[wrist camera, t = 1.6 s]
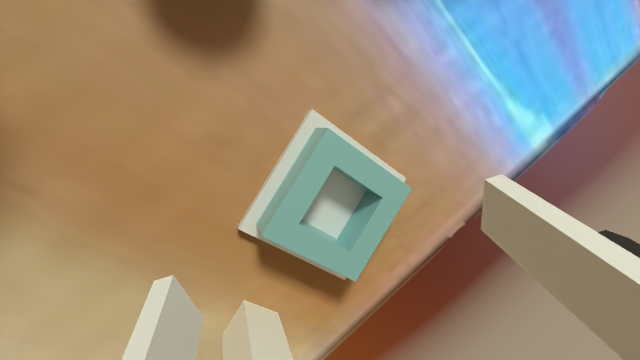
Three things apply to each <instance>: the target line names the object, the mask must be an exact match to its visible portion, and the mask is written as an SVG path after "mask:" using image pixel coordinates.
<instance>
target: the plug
mask: <svg viewBox="0 0 640 360" xmlns="http://www.w3.org/2000/svg"><path fill="white" fill-rule="evenodd" d="M222 351H223V360H293V358H292V355H291V352H290V349H289V346H288V343H287V339H286V336H285V333H284V330H283V327H282V324H281V321H280V318H279V314H278V313H277V312H274V311H272V310H269V309H266V308H264V307H261V306H258V305H256V304H253V303H250V302H248V301H245V300H243V302H242V304H241V305H240V307H239V309H238V310H237V312H236V313H235V315H234V317H233V318H232V320H231V322H230V323H229V325H228V327H227V328H226V330H225V331H224V333H223V335H222Z"/></svg>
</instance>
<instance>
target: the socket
mask: <svg viewBox="0 0 640 360" xmlns="http://www.w3.org/2000/svg"><path fill="white" fill-rule="evenodd" d="M405 180H406V178H405V177H404V176H402V175H401V174H400V173H398V172H397V171H396V170H394V169H393V168H391V167H390V166H389V165H387V164H386V163H385V162H383V161H382V160H381V159H379V158H378V157H376V156H375V155H374V154H372V153H371V152H370V151H368V150H367V149H366V148H364V147H363V146H362V145H360V144H359V143H357V142H356V141H355V140H353V139H352V138H351V137H349V136H348V135H347V134H345V133H344V132H342V131H341V130H340V129H338V128H337V127H336V126H334V125H333V124H332V123H330V122H329V121H328V120H326V119H325V118H323V117H322V116H321V115H319V114H318V113H317V112H315V111H314V110H313V109H311V110H309V111H308V113H307V114H306V116H305V117H304V119H303V121H302V122H301V124H300V126H299V127H298V129H297V130H296V132H295V134H294V135H293V137H292V138H291V140H290V142H289V143H288V145H287V147H286V148H285V150H284V151H283V153H282V155H281V156H280V158H279V159H278V161H277V163H276V164H275V166H274V168H273V169H272V171H271V172H270V174H269V176H268V177H267V179H266V180H265V182H264V184H263V185H262V187H261V189H260V190H259V192H258V193H257V195H256V197H255V198H254V200H253V201H252V203H251V205H250V206H249V208H248V210H247V211H246V213H245V214H244V216H243V218H242V219H241V221H240V222H239V224H238V229H239V230H241V231H243V232H245V233H247V234H249V235H252V236H254V237H256V238H258V239H260V240H262V241H264V242H266V243H268V244H270V245H272V246H275V247H277V248H279V249H281V250H283V251H285V252H287V253H289V254H291V255H293V256H295V257H297V258H300V259H302V260H304V261H306V262H308V263H310V264H312V265H314V266H316V267H318V268H320V269H322V270H325V271H327V272H329V273H331V274H333V275H335V276H337V277H339V278H341V279H343V280H345V279H346V277H347V278H349V279H351V280H353V281H355V282H356V280H357V279H358V277H359V275H360V274H361V272H362V270H363V269H364V267H365V265H366V264H367V262H368V261H369V259H370V257H371V256H372V254H373V252H374V251H375V249H376V247H377V246H378V244H379V242H380V241H381V239H382V237H383V236H384V234H385V232H386V231H387V229H388V227H389V226H390V224H391V222H392V221H393V219H394V218H395V216H396V214H397V213H398V211H399V209H400V208H401V206H402V204H403V203H404V201H405V199H406V198H407V196H408V194H409V193H410V191H411V189H412V188H410V187H409V186H408V185H406V184H405V183H404V182H405Z"/></svg>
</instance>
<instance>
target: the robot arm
mask: <svg viewBox="0 0 640 360" xmlns="http://www.w3.org/2000/svg"><path fill="white" fill-rule="evenodd" d="M481 230H482V231H483V232H484V233H485V234H486V235H487V236H489V237H490V238H491V239H492V240H493V241H494V242H495V243H496V244H497V245H498V246H499V247H501V248H502V249H503V250H504V251H505V252H506V253H507V254H508V255H509V256H510V257H512V258H513V259H514V260H515V261H516V262H517V263H518V264H519V265H520V266H521V267H523V268H524V269H525V270H526V271H527V272H528V273H529V274H530V275H531V276H532V277H533V278H534V279H536V280H537V281H538V282H539V283H540V284H541V285H542V286H543V287H544V288H545V289H547V290H548V291H549V292H550V293H551V294H552V295H553V296H554V297H555V298H556V299H558V300H559V301H560V302H561V303H562V304H563V305H564V306H565V307H566V308H567V309H569V311H571V312H572V313H573V314H574V315H575V316H576V317H577V318H578V319H579V320H580V321H582V322H583V323H584V324H585V325H586V326H587V327H588V328H589V329H590V330H591V331H592V332H594V333H595V334H596V335H597V336H598V337H599V338H600V339H601V340H602V341H604V342H605V343H606V344H607V345H608V346H609V347H610V348H611V349H612V350H613V351H614V352H615V353H617V354H618V355H619V356H620V357H621V358H622V359H623V360H640V244H638V243H636V242H635V241H633V240H631V239H629V238H627V237H624V236H621V235H618V234H615V233H613V232H610V231H607V230H604V231H601V232H598V233H597V232H596V231H594V230H592V229H591V228H589V227H588V226H586V225H584V224H583V223H581V222H579V221H577V220H576V219H574V218H573V217H571V216H569V215H568V214H566V213H565V212H563V211H561V210H560V209H558V208H556V207H555V206H553V205H551V204H550V203H548V202H546V201H545V200H543V199H542V198H540V197H538V196H537V195H535V194H533V193H532V192H530V191H528V190H527V189H525V188H523V187H522V186H520V185H519V184H517V183H515V182H514V181H512V180H510V179H509V178H507V177H505V176H504V175H502V174H501V175H498V176H495V177H492V178H488V179H485V183H484V196H483V209H482V222H481ZM202 322H203V316H202V315H201V313H200V312H199V310H198V309H197V308H196V306H195V305H194V303H193V302H192V300H191V299H190V298H189V296H188V295H187V293H186V292H185V291H184V289H183V288H182V286H181V285H180V284H179V282H178V281H177V279H176V278H175V276H174V275H172V276H169V277H165V278H162V279H159V280H156V281H154V282H153V285H152V287H151V290H150V292H149V295H148V297H147V300H146V302H145V304H144V307H143V309H142V312H141V314H140V317H139V319H138V321H137V324H136V326H135V329H134V331H133V334H132V336H131V339H130V341H129V343H128V346H127V348H126V351H125V353H124V356H123V358H122V360H195V359H196V354H197V349H198V343H199V338H200V333H201V327H202Z"/></svg>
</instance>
